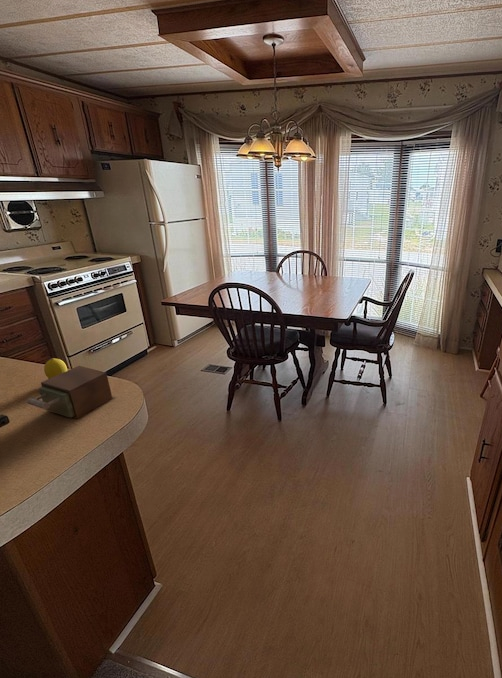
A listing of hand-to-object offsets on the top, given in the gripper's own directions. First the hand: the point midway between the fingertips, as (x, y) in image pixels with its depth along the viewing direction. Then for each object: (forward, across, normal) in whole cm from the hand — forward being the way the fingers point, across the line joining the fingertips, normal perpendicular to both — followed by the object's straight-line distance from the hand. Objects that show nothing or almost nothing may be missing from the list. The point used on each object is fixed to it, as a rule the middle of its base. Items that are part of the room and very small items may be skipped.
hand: (6, 418), depth 79 cm
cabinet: (+17, 0, -6) cm, 18 cm away
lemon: (+23, -18, -7) cm, 30 cm away
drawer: (+13, 0, -5) cm, 14 cm away
